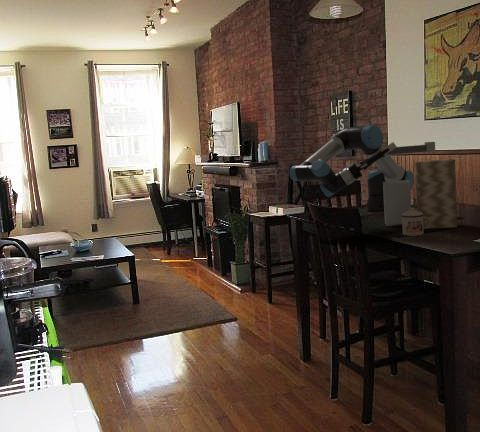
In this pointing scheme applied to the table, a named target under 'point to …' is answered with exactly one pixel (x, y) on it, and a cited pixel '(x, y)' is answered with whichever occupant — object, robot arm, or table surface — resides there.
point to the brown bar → (413, 148)
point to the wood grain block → (437, 192)
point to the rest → (396, 201)
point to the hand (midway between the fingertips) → (394, 144)
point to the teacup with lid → (413, 222)
